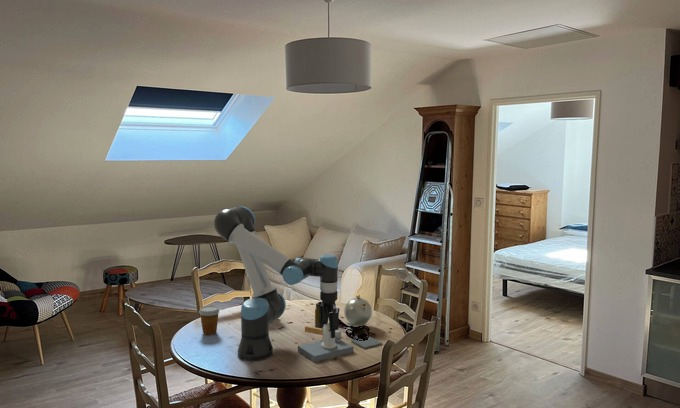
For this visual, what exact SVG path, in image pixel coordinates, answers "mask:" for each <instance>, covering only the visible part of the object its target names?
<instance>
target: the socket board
mask: <svg viewBox="0 0 680 408" xmlns="http://www.w3.org/2000/svg"><path fill="white" fill-rule="evenodd" d="M321 343H323V339H321V340H317V341H312V342H309V343H305V344H304V343H303V344H300V345H297V352H298V353H300V354H301V355H303V356H305V357H306V358H308V359H309V360H311V361H312V362H313V363H315V362H319V361H320V362H321V361H323V360H328V359H330V358H331V359H332V358H336V357H338V356H339V357H340V356H343V355H347V354H350V353H354V346H353V345H352V344H349V343H348V342H346V341H344V340H342V338H341V339H335V343H336V348H334V349H324V348H322V347H321Z"/></svg>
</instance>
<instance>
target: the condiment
mask: <svg viewBox="0 0 680 408" xmlns="http://www.w3.org/2000/svg"><path fill="white" fill-rule="evenodd" d="M311 327H316V328H321V329H322V325H321V324H320V323H319V304H318V302H317V303H315V311H314V325H311Z"/></svg>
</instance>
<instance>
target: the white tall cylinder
mask: <svg viewBox="0 0 680 408" xmlns="http://www.w3.org/2000/svg"><path fill="white" fill-rule="evenodd" d="M329 330H330V325H329V322H328V323H326V324H324V342H323V343H321V347H322V348H324V349H334V348H336V343H335V344H334V345H329Z"/></svg>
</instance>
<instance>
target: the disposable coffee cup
mask: <svg viewBox="0 0 680 408" xmlns="http://www.w3.org/2000/svg"><path fill="white" fill-rule="evenodd" d="M198 313H199V314H200V315H199V316H200V321H201V327H202V334H203V333H204V334H207V335H206V336H210V335H209V334H213V335H216V334H217V332H218V322H219V313H220V309H219V306H216V305H215V306H214V305H207V306H202V307H200V308H199V311H198ZM215 333H216V334H215ZM204 334H203V335H204Z"/></svg>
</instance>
